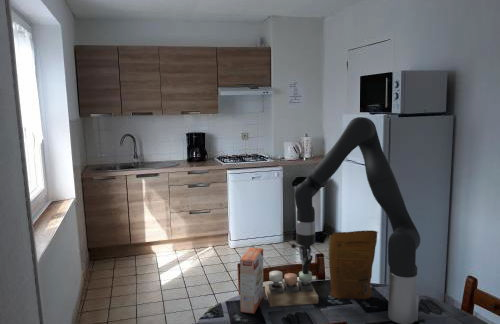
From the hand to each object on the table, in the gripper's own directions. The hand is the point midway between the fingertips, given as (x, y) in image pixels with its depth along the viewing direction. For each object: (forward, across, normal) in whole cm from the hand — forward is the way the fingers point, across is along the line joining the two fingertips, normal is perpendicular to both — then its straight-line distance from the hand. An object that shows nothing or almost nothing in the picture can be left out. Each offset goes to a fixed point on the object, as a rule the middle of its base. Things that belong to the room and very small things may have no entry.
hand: (305, 273), depth 163 cm
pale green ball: (+5, 0, 0) cm, 5 cm away
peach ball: (+6, 0, +6) cm, 8 cm away
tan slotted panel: (+10, 0, +6) cm, 11 cm away
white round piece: (+4, 0, +12) cm, 13 cm away
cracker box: (+10, -4, +22) cm, 24 cm away
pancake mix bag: (+10, -4, -18) cm, 21 cm away
